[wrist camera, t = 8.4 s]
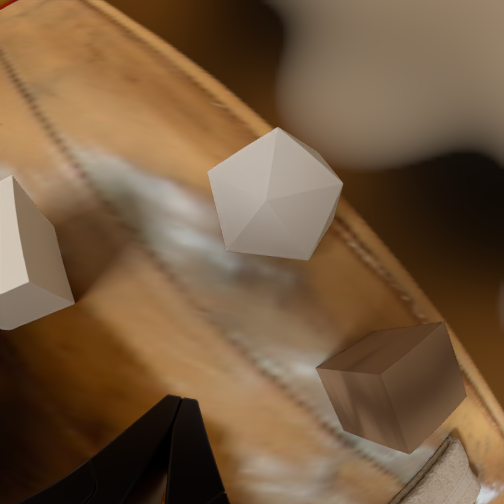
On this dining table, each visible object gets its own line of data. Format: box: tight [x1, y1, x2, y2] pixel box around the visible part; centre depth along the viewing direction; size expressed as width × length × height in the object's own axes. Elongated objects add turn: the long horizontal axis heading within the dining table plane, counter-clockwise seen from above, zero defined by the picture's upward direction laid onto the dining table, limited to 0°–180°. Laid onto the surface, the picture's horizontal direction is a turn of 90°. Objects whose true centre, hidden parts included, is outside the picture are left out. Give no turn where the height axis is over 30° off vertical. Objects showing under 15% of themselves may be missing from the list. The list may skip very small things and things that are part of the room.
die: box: [208, 128, 343, 261], centre depth 21 cm, size 8×9×10 cm
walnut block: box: [316, 321, 467, 454], centre depth 19 cm, size 6×6×8 cm
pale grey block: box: [0, 175, 75, 330], centre depth 15 cm, size 6×6×8 cm
